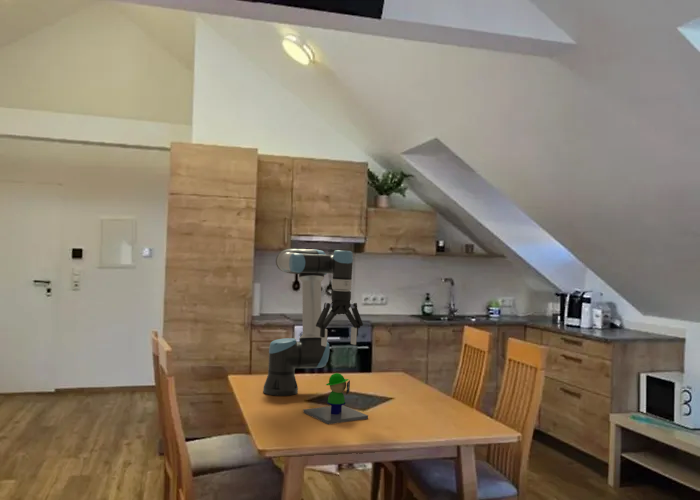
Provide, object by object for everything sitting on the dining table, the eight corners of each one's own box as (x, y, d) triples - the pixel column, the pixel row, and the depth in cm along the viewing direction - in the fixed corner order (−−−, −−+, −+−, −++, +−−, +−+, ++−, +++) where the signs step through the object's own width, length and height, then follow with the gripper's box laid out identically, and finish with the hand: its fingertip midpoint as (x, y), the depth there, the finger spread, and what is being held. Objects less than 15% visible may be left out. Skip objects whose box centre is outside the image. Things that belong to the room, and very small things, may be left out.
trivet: (303, 412, 235) (303, 409, 235) (341, 407, 245) (342, 404, 245) (328, 424, 220) (328, 421, 220) (368, 418, 230) (368, 415, 230)
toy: (344, 416, 228) (346, 376, 228) (322, 414, 229) (323, 374, 229) (349, 410, 236) (350, 372, 236) (327, 408, 238) (329, 370, 238)
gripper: (318, 290, 224) (316, 348, 224) (373, 291, 238) (370, 345, 238) (308, 289, 230) (306, 345, 230) (362, 289, 244) (359, 342, 244)
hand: (338, 345), depth 234 cm, fingers open, 13 cm apart
